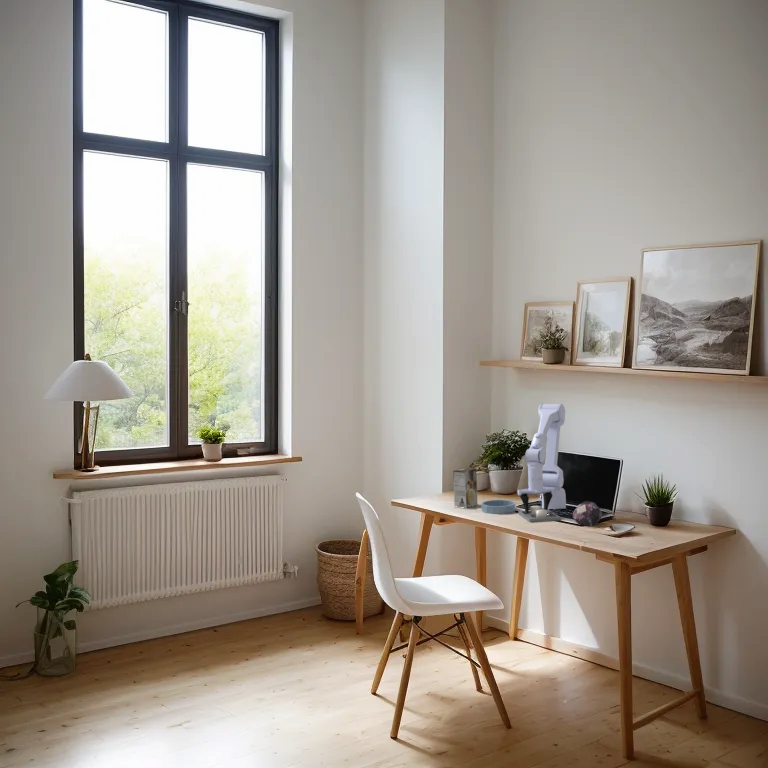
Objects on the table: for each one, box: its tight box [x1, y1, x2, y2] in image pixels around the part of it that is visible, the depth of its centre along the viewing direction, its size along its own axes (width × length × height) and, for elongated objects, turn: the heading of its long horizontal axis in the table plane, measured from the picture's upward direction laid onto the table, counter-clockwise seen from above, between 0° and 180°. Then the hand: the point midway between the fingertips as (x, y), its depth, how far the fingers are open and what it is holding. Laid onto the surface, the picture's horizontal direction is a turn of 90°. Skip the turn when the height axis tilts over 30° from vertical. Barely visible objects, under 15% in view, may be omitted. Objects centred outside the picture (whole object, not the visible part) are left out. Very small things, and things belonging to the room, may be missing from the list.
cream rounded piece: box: [536, 508, 547, 518], centre depth 340 cm, size 4×4×3 cm
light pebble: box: [530, 505, 543, 516], centre depth 346 cm, size 4×4×3 cm
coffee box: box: [453, 467, 478, 509], centre depth 374 cm, size 9×6×16 cm
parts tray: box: [518, 509, 561, 523], centre depth 343 cm, size 12×15×2 cm
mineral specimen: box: [572, 500, 603, 527], centre depth 329 cm, size 10×10×10 cm
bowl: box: [480, 499, 517, 515], centre depth 359 cm, size 14×14×4 cm
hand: (536, 512), depth 346 cm, fingers open, 7 cm apart
